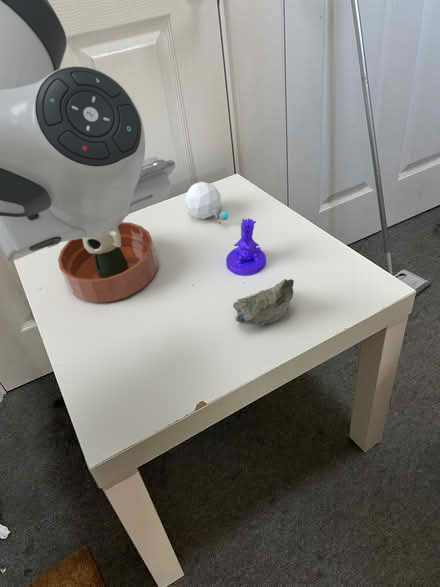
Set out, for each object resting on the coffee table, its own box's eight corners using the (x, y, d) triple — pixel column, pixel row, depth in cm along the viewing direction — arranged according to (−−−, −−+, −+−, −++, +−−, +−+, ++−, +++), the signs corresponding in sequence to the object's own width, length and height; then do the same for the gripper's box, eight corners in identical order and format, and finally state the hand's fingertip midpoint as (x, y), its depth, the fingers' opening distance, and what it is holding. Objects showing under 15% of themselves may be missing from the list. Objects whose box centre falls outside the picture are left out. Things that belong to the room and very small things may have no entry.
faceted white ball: (208, 184, 107) (246, 206, 101) (189, 214, 107) (225, 238, 102) (192, 169, 100) (231, 192, 94) (171, 201, 101) (209, 226, 95)
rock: (274, 281, 84) (297, 272, 74) (288, 311, 84) (313, 306, 74) (221, 306, 81) (237, 300, 71) (235, 337, 81) (254, 335, 71)
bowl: (75, 316, 85) (64, 293, 81) (64, 260, 98) (53, 238, 94) (168, 285, 88) (162, 261, 84) (145, 235, 101) (139, 212, 97)
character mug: (82, 271, 94) (60, 218, 85) (108, 252, 97) (89, 199, 88) (118, 290, 88) (98, 236, 79) (144, 269, 92) (128, 215, 83)
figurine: (269, 275, 89) (274, 233, 82) (229, 279, 88) (230, 236, 81) (260, 250, 94) (264, 209, 87) (223, 253, 93) (223, 212, 86)
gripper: (165, 130, 49) (147, 176, 62) (-29, 198, 43) (-4, 233, 56) (191, 183, 49) (167, 218, 63) (1, 259, 43) (19, 280, 56)
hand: (85, 226), depth 59 cm, fingers open, 8 cm apart
